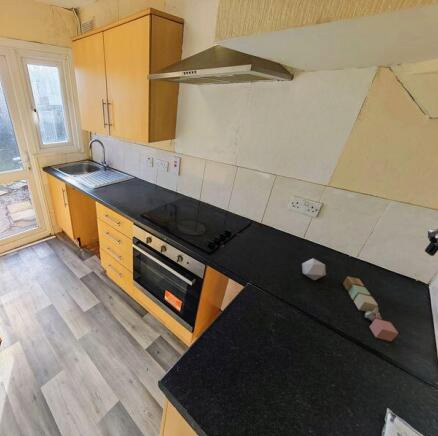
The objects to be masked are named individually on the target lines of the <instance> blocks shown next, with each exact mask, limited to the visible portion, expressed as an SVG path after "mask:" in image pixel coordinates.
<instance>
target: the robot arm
mask: <svg viewBox="0 0 438 436" xmlns="http://www.w3.org/2000/svg"><path fill="white" fill-rule="evenodd" d="M436 235H437V236H436ZM427 238H428V242H429V244H428V245H427V246H426V247H425V249H424V252H425V253H426V254H428V255H429V256H431V257H433V256H435V255H436V254H437V252H438V228H435V229H428V230H427Z"/></svg>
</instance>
